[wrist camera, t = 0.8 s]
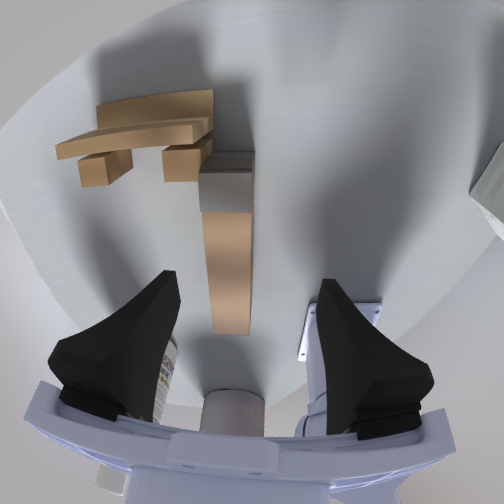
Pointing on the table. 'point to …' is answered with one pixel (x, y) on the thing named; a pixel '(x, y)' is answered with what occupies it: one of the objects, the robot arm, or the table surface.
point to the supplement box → (492, 192)
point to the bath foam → (117, 479)
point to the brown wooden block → (229, 236)
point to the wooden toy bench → (146, 136)
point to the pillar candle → (233, 413)
